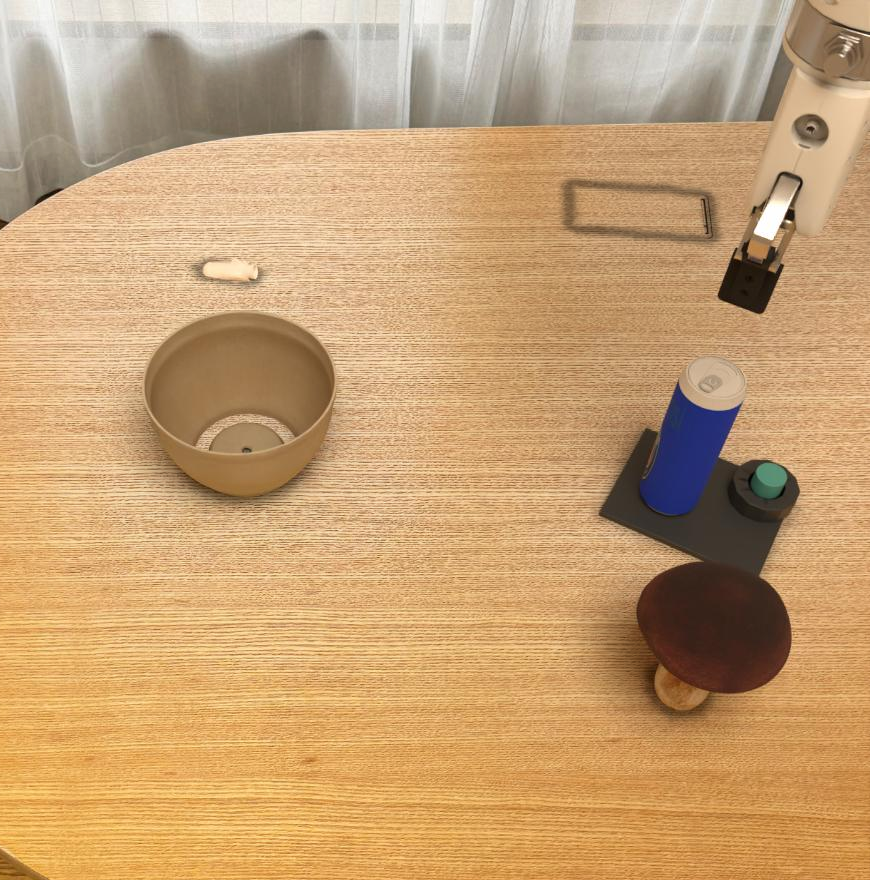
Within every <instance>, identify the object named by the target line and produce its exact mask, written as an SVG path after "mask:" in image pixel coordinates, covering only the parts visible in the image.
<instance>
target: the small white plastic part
mask: <svg viewBox="0 0 870 880" xmlns="http://www.w3.org/2000/svg"><path fill="white" fill-rule="evenodd" d="M202 275H204V276H206V277H207V278H215V279H220V280H227V281H239V282H240V281H241V282H251V280H257V278H258V276H259V268H258V265H257V263H255V262H254V263H252V261H247V260H239V259H238V258H236V257H233V258H231V261H208V262H206V263H205V264H204V265H203V267H202Z"/></svg>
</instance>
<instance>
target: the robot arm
mask: <svg viewBox="0 0 870 880" xmlns="http://www.w3.org/2000/svg"><path fill="white" fill-rule="evenodd" d="M781 43H782V48H783V51H784V53H785V55H786V56H787V58H788V59H789V60H790V61H791V63H792V64H793V67H792V69H791V72H790V75H789V77H788V80H787V83H786V85H785V87H784V91H783V93H782V95H781V98H780V102H779V104H778V106H777V109H776V112H775V114H774V118H773V120H772V123H771V126H770V129H769V132H768V134H767V137H766V140H765V143H764V146H763V149H762V152H761V154H760V158H759V161H758V163H757V166H756V168H755V172H754V175H753V179H752V182H751V184H750V188H749V191H748V194H747V197H746V200H745V204H744V212H745V214H746V216H747V217H748V218H749V219H750V220H749V222H748V225H747V226H746V229H745V231H744V232H743V235H742V238H741V240H740V242H739V245H738V247H735V248H734V250H733V252H732V254H731V257H730V259H729V262H728V265H727V267H726V271H725V274H724V276H723V279H722V281H721V284H720V287H719V289H718V292H717V295H716V296H717V298H718V300H720V301H721V302H724V303H727V304H729V305H732V306H735V307H738V308H739V309H740V308H741V309H743V310H745V311H749V312H751V313H753V314H757V315H763V314H764V313H765V312H766V310H767V308H768V305H769V303H770V301H771V298H772V296H773V294H774V292H775V289H776V286H777V284H778V282H779V280H780V277H781V275H782V273H783V270H784V268H785V264H784V263H782V262H783V260H784V257H785V255H786V253H787V250H788V249H789V246H790V245H791V242H792V239H793V237H794V235H795V233H796V234H797V235H799V236H803V237H805V239H808V240H810V239H813V238H816V237H817V236H819V235H820V234H821V233H822V231H823V230H824V227H825V225H826V223H827V222H828V219H829V218H830V216H831V214H832V212H833V210H834V208H835V206H836V204H837V202H838V200H839V198H840V196H841V194H842V192H843V190H844V188H845V186H846V183H847V182H848V179H849V177H850V175H851V173H852V171H853V168H854V166H855V165H856V161H857V160H858V157H859V156H860V153H861V150H862V148H863V146H864V144H865V142H866V139H867V138H868V136H869V133H870V0H795V2H794V4H793V7H792V10H791V13H790V15H789V18H788V21H787V24H786V26H785V29H784V32H783V36H782V40H781ZM780 230H782V231H784V233H783V235H782V238H781V239H780V242H779V244H778V246H777V248H776V246H773V244H774V242H775V240H776V237H777V235H778V234H779V233H778V232H779V231H780Z"/></svg>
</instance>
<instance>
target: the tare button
mask: <svg viewBox="0 0 870 880" xmlns="http://www.w3.org/2000/svg"><path fill="white" fill-rule="evenodd" d="M786 481H787V474H786V472H785V471H784V469H783V468H781V467H780V466H778V465H776V464H773V463H764V464H761V465H760V466H758V468H757V469H756V471H755V473H754V475H753V478H752V480H751V482H750V486H751V489H752V491H753V492H754V493H755V494H756V495H758V496H759V497H762V498H765V499H772V498H775V497H777V496H778V495H779V494H780V492H781V490H782V489H783V487H784V485H785V483H786Z"/></svg>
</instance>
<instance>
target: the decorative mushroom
mask: <svg viewBox="0 0 870 880" xmlns="http://www.w3.org/2000/svg"><path fill="white" fill-rule="evenodd" d="M635 619H636V622H637V626H638V629H639V631H640V633H641V635H642V637H643V639H644V641H645V643H646V644H647V646H648V648H649V650H650V652H651V653H652V654H653V656H654V658H655V659H656V660H657V662H658V663H659V664H658V666H657V669H656V672H655V675H654V680H653V681H654V682H653V683H654V684H653V685H654V690H655V694H656V696H657V697H658V699H659V700H660V701H661V703H663V704H664V705H665V706H667V708H668V707H669V708H671V709H674V710H675V711H690V710H693V709H694V708H696V707H697V706H699V705H701V704H702V703H703V702H704V701H705V699H706V698H707V697H708V696H709V694H710V693H715V694H722V695H723V694H725V695H726V694H727V695H735V694H743V693H749V692H751V691H754V690H757V689H760V688H762V687H763V686H765V685H767V684H768V683H770V682H771V681H773V679H775V678H776V677H777V676H778V674H779V673H780V672H781V671H782V670H783V668H784V667H785V665H786V663H787V661H788V659H789V656H790V653H791V650H792V641H793V633H792V632H793V631H792V624H791V619H790V615H789V613H788V610H787V607H786V605H785V602H784V600H783V599H782V597H781V596H780V594H779V592H778V591H777V590H776V588H774V587H773V586H772V584H770V583H769V582H768V581H767V580H766V579H764V578H762V577H761V576H760V575H759V576H757V575H755V574H753V573H752V572H750V571H747V570H744V569H742V568H739V567H737V566H733V565H730V564H726V563H720V562H711V561H702V560H700V561H692V562H687V563H682V564H679V565H676V566H672V567H671V568H668V569H666V570H664V571H662V572H660V573H659V574H657V575H655V576H654V577H653V578H652V579H651V580H650V581H649V582H648V583H647V584H646V585H645V586H644V588H643V589H642V591H641V593H640V595H639V598H638V600H637V604H636V611H635Z"/></svg>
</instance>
